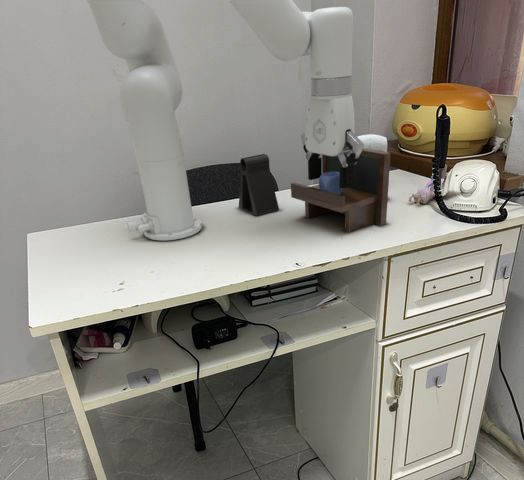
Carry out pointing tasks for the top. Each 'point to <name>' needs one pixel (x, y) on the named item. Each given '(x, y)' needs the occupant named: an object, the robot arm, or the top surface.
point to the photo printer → (374, 142)
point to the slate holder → (352, 191)
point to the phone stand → (257, 186)
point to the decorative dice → (330, 182)
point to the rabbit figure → (425, 193)
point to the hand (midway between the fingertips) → (330, 182)
